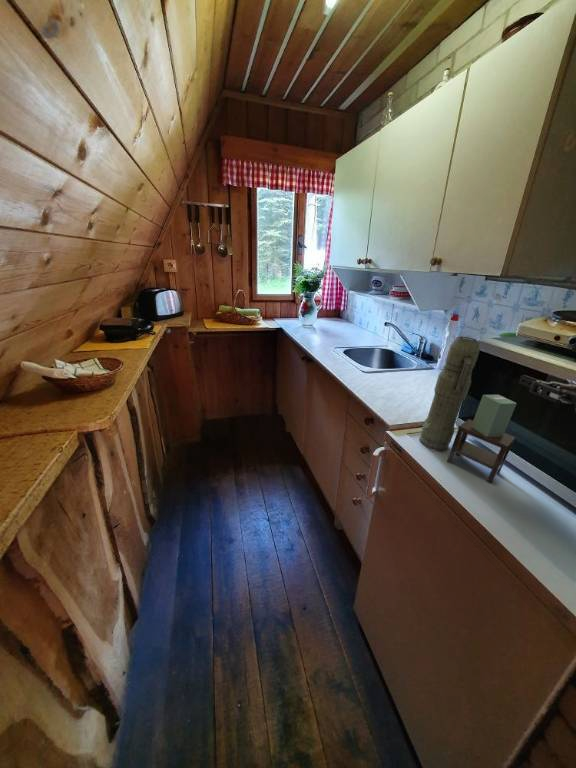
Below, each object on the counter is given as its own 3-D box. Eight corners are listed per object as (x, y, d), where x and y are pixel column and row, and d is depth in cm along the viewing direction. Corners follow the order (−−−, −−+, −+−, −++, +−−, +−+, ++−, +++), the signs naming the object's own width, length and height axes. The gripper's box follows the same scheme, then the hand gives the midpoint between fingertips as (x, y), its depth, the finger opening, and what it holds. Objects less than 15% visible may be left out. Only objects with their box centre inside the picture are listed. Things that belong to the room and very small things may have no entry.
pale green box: (486, 426, 88) (498, 394, 84) (502, 436, 83) (517, 402, 79) (470, 426, 87) (483, 394, 83) (487, 437, 82) (500, 403, 78)
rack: (499, 472, 88) (515, 437, 84) (491, 483, 83) (507, 446, 78) (456, 452, 96) (468, 419, 91) (446, 461, 91) (459, 426, 86)
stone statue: (440, 435, 105) (473, 335, 92) (454, 455, 94) (494, 345, 81) (414, 432, 105) (443, 332, 93) (425, 451, 94) (461, 341, 82)
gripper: (651, 391, 59) (562, 364, 73) (600, 392, 55) (517, 363, 69) (631, 425, 62) (549, 392, 76) (581, 428, 58) (505, 393, 72)
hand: (534, 378), depth 73 cm, fingers open, 8 cm apart
